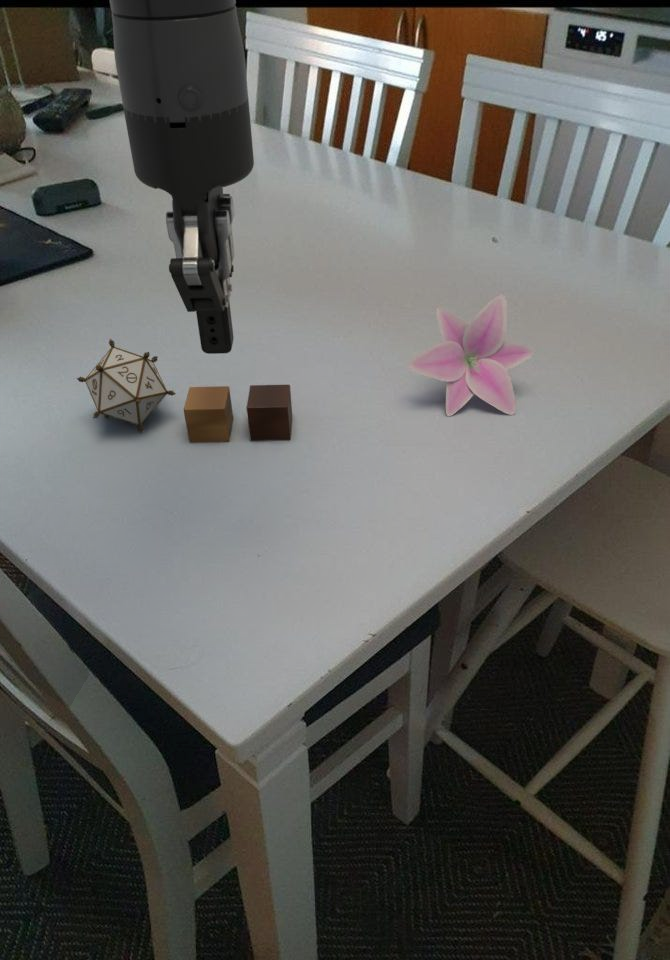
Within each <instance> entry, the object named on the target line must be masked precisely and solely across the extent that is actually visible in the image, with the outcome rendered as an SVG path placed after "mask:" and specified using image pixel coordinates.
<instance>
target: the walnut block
mask: <svg viewBox="0 0 670 960" xmlns="http://www.w3.org/2000/svg"><path fill="white" fill-rule="evenodd" d="M291 392H292V391H291V385H290V384H251V385H250V386H249V391H248V397H247V401H246V402H247V403H246V415H247V422H248V432H249V440H250V441H252V442H253V441H255V442H256V441H291V438H292V437H291V436H292V428H293V417H294V416H293V405H292V393H291Z"/></svg>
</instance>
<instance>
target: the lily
mask: <svg viewBox="0 0 670 960" xmlns="http://www.w3.org/2000/svg"><path fill="white" fill-rule="evenodd" d="M435 311H436V318H437V323H438V328H439V332H440V336H441V339H442V342H439V343H437V344H434V345H433V346H431V347H429V348H427V349H426V350H424V351H422V352H420V353H419V354H417V355H415V356H414V357H412V359H410V360H409V361H408V362H407V363H406V368H407V369H408V370H409V371H412V372H413V373H416V374H419V375H422V376H425V377H428V378H431V379H434V380H438V381H442V382H446V390H445V414H446V416H447V417H451V416H453V415H454V414H456V413H457V412H458V411H459V410H461V408H463V407H464V406H465V405H466V404H467V403H468V402H469V401H470V400H471V398H472V397H474V395H475V396H477V398H479V399H480V400H482V401H484V402H485V403H487V404H488V405H491V406H492V407H494V408H495V409H497V410H499V411H500V412H502V413H504V414H506V415H509V416H515V414H516V411H517V409H516V408H517V404H516V398H515V392H514V387H513V384H512V379H511V376H510V374H509V372H508V370H511V369H514V368H515V367H517V366H519V365H521V364H522V363H524V362H526V361H527V360H529V359H530V358H532V357H533V356H534V354H535V351H534V350H533V349H531V347H527V346H525V345H522V344H520V343H515V342H513V341H508V340H505V338H506V334H507V328H508V327H507V326H508V303H507V297H506V296H505V295H504V294H498V295H497V296H495V297H494V298H493V299H491V300H490V301H489V302H488V303H487V304H486V305H485V306H483V308H482V309H480V310H479V312H478V313H476V315H474V316H473V317H472V318H471V320H470V321H469V322H468V323H467V322H466V321H464V320H463V319H462V318H461V317H459V316H458V315H456V314H455V313H453V312H451V311H449V310H448V309H446V308H443V307H436V310H435Z"/></svg>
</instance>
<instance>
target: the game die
mask: <svg viewBox="0 0 670 960" xmlns="http://www.w3.org/2000/svg"><path fill="white" fill-rule="evenodd" d="M108 344H109V346H110V349H109V350H108V351H107V352H106V354H105V355H104V356H103V357H102V358H101V359H100V361H98V363H97V364H96V365H95V366H94V368H93V369H92V370H91V371H90V373H89V374H88V375H87V376H86V377H84V376H79V377H77V378H76V380H77V381H78V382H79V383H85V384H86V386H87V387H86V388H87V389H88V391H89V394H90V397H91V399H92V401H93V403H94V406H95V408H96V410H97V411H95V412H94V413H93V414H92V415H93V416H92V418H93V419H98V418H99V417H100V416H101V415H102V416H103V417H104V419H110V418H112V419H115V420H119V421H122V422H125V423H128V424H132V425H135V426H137V430H138V432H140V433H141V434H143V433H144V427H143V423H144V422H145V421H146V420H147V418H148V417H149V416H150V415H151V413H153V411H154V410H155V409H156V408H157V407H158V405H159V404H160V403H161V401H163V399H164V398H165V397H166V396H167V395H168V396H171V397H172V396H174V395H176V394H177V393H176V392H174V391H173V390H167V388H166V385H165V384H164V382H163V379H162V377H161V375H160V373H159V371H158V368H157V367H156V364H155V363H156V362H157V361H158V355H156V356H155V355H154V356H152V358H151V359H150V358H149V357H150V356H151V354H150V351H147V352H144V353H143V355H140V354H137V353H134V352H131V351H128V350H126V349H123V348H120V347H118V346H117V347H116V345H115V340H112V338H109V340H108Z"/></svg>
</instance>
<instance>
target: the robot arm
mask: <svg viewBox="0 0 670 960" xmlns="http://www.w3.org/2000/svg"><path fill="white" fill-rule="evenodd" d="M236 4H237V1H236V0H109V7H110V10H111V21H112V31H113V33H112V35H113V51H114V53H113V54H114V61H115V67H116V74H117V79H118V84H119V90H120V96H121V101H122V108H123V113H124V119H125V126H126V131H127V136H128V141H129V143H128V144H129V148H130V154H131V160H132V164H133V170H134V171H133V172H134V174H135V177H136V178H137V179H138V181H139V182H141V183H142V184H144V185H145V186H147V187H149V188H152V189H155V190H157V189H159V190H161V191H164V192H166V193H167V194H168V195H170V196H171V199H172V200H171V206H172V207H171V208H172V211H166V213H165V224H166V229H167V230H166V231H167V237H168V239H169V240H170V242H172V244H173V249H174V253H175V257H172V258H170V261H169V264H168V272H169V273H170V276H171V278H172V281H173V283H174V284H175V287H176V289H177V292H178V294H179V296H180V298H181V301H182V302H183V305H184V308H185V309H186V311H187V313H194V312H195V313H196V320H197V321H196V322H197V328H198V335H199V340H200V347H201V348H200V349H201V351H202V352H203V353H205V354H206V355H207V354H208V355H215V354H218V355H219V354H230V352H231V351H232V348H233V345H234V329H233V323H232V322H233V319H232V311H231V303H230V302H231V296H232V295H231V294H232V293H233V284H232V283H231V278H232V277H233V273H234V270H235V268H234V264H233V263H234V258H235V247H234V235H233V221H234V218H235V205H234V198H233V196H232V195H231V194H230V193H224V188H226V187H229V186H232V185H235V184H237V183H240V182H241V181H242V180H244V179H245V178H247V177H248V176H249V175H250V174H251V173H252V171H253V168H254V165H255V159H254V148H253V137H252V125H251V113H250V101H249V90H248V79H247V65H246V56H245V47H244V43H243V37H242V32H241V28H240V23H239V18H238V12H237V11H238V10H237V6H236Z"/></svg>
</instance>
